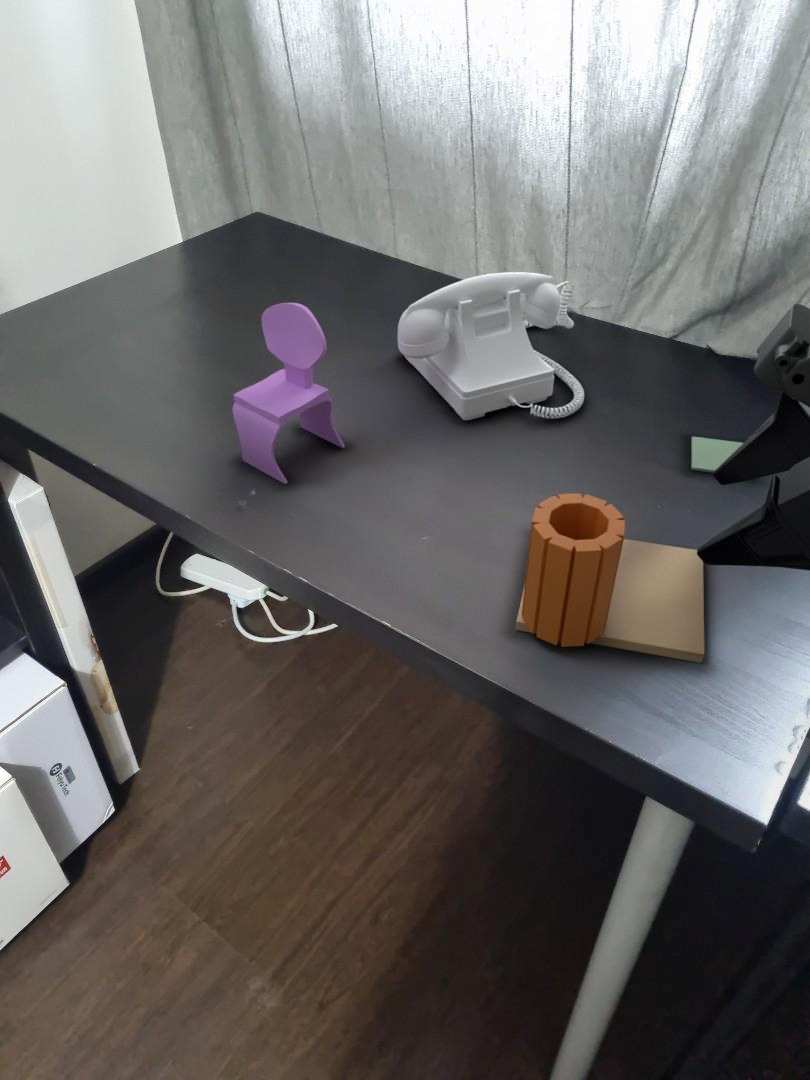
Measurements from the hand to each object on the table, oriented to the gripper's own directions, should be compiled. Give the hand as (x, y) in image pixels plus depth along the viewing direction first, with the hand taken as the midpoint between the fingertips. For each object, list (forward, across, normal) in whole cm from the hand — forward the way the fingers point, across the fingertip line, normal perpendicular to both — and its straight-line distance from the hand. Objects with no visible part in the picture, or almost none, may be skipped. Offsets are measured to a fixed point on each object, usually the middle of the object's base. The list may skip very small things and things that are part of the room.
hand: (709, 515), depth 54 cm
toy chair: (+36, -13, -20) cm, 43 cm away
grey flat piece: (+8, -28, +9) cm, 30 cm away
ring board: (+13, -5, +5) cm, 15 cm away
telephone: (+25, -35, -10) cm, 44 cm away
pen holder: (+14, 0, +2) cm, 15 cm away
